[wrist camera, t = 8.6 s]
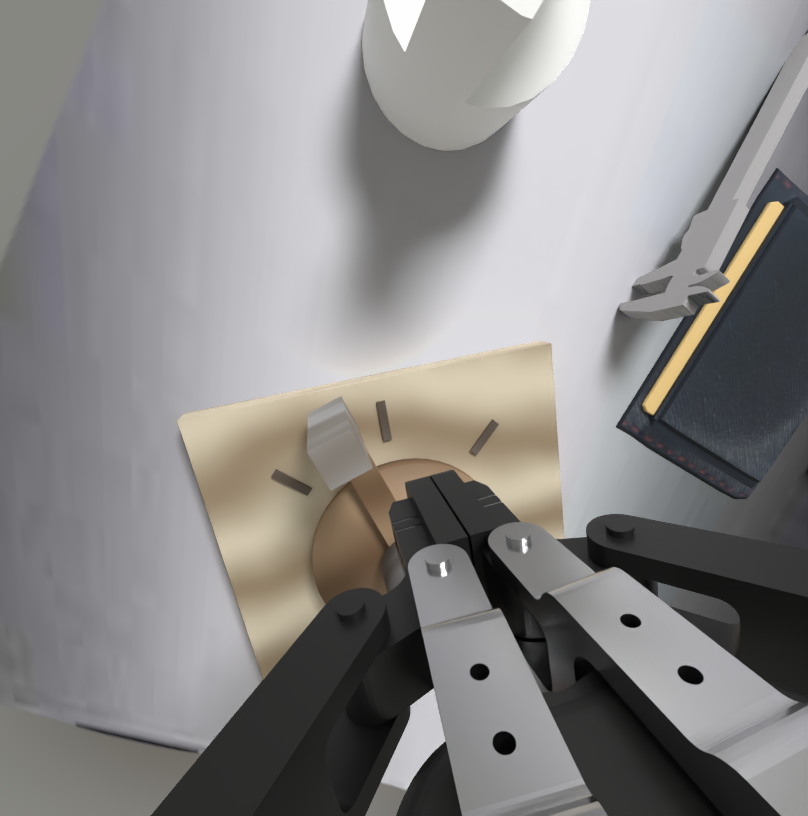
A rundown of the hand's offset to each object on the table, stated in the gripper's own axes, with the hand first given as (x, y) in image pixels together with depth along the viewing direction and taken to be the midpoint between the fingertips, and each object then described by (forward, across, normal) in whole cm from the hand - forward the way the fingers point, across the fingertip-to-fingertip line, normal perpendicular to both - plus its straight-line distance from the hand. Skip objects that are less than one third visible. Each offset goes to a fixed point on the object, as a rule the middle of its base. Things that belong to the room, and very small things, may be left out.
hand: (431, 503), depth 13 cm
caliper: (+15, -25, -9) cm, 30 cm away
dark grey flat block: (+16, -28, +3) cm, 33 cm away
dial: (+13, 0, +7) cm, 15 cm away
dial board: (+15, 0, +10) cm, 18 cm away
